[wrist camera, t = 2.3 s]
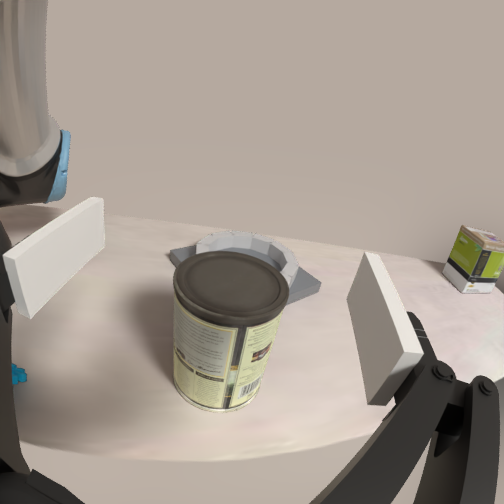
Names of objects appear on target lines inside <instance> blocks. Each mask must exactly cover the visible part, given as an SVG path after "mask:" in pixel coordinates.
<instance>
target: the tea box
mask: <svg viewBox="0 0 504 504" xmlns="http://www.w3.org/2000/svg"><path fill="white" fill-rule="evenodd" d="M503 266H504V242H503V241H502V240H501V239H499V238H498V237H496V236H495V235H494V234H492V233H491V232H489V231H485V230H481V229H477V228H473V227H468V226H464V225H462V226H461V228H460V231H459V233H458V236H457V239H456V241H455V243H454V246H453V249H452V251H451V253H450V256H449V258H448V260H447V263H446V265H445V267H444V269H443V272H442V274H443V275H444V276H445V277H446V278H447V279H448V280H449V281H450V282H451V283H452V284H453V285H454V286H455V287H456V288H457V289H458V290H459V291H460V292H461V293H491V291H492V289H493V287H494V285H495V283H496V281H497V279H498V277H499V275H500V273H501V271H502V268H503Z"/></svg>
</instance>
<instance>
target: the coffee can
mask: <svg viewBox="0 0 504 504" xmlns="http://www.w3.org/2000/svg"><path fill="white" fill-rule="evenodd" d="M173 285H174V338H173V339H174V372H173V378H174V383H175V387H176V389H177V390H178V392H179V393H180V394H181V396H182V397H183V398H184V399H185V400H186V401H188V402H189V403H190V404H192V405H194V406H196V407H198V408H200V409H202V410H207V411H211V412H231V411H235V410H238V409H240V408H242V407H244V406H246V405H247V404H249V403H250V402H251V401H252V400H253V399H254V397H255V396H256V394H257V393H258V391H259V387H260V382H261V379H262V376H263V373H264V370H265V367H266V364H267V361H268V357H269V354H270V351H271V348H272V345H273V342H274V338H275V335H276V332H277V329H278V325H279V322H280V318H281V315H282V312H283V309H284V307H285V305H286V303H287V301H288V298H289V285H288V282H287V280H286V279H285V277H284V276H283V275H282V274H281V273H280V272H279V271H278V270H277V269H276V268H275V267H273V266H272V265H270V264H269V263H267V262H265V261H263V260H261V259H259V258H256V257H253V256H250V255H247V254H243V253H238V252H231V251H209V252H203V253H199V254H195V255H193V256H190V257H188V258H187V259H185V260H184V261H182V262H181V263H180V264H179V265H178V266H177V268H176V270H175V272H174V276H173Z"/></svg>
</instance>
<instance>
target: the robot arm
mask: <svg viewBox="0 0 504 504" xmlns="http://www.w3.org/2000/svg"><path fill="white" fill-rule="evenodd" d="M47 5H48V0H0V207H6V206H15V205H24V204H33V203H45V204H46V203H48V202H52V201H58V200H60V199H62V198H63V197H64V195H65V193H66V184H67V170H68V160H69V149H70V138H71V135H70V132H69V131H64V130H60V129H59V125H58V123H57V122H56V120H55V119H54V118H53V117H51V116H50V115H48V104H47V90H46V64H45V43H46V42H45V41H46V17H47ZM104 247H105V234H104V200H103V198H97V197H91V198H89V199H87V200H85V201H84V202H82V203H80V204H78V205H77V206H75V207H74V208H72V209H70V210H69V211H67V212H65V213H64V214H62V215H60V216H59V217H57V218H56V219H54V220H53V221H51V222H49V223H48V224H46V225H45V226H43V227H42V228H40V229H39V230H37V231H36V232H34V233H33V234H31V235H29V236H27V237H26V238H24V239H23V240H22V241H21V242H19V243H17V244H16V245H15V246H13V247H12V244H11V241H10V238H9V237H8V235H7V233H6V231H5V229H4V227H3V225H2V223H1V221H0V504H85V503H83V502H82V501H80V499H78V498H77V497H76V496H75V495H73V494H72V493H71V492H70V491H68V490H67V489H66V488H65V487H63V486H61V485H60V484H58V483H56V482H54V481H52V480H51V479H49V478H47V477H45V476H44V475H42V474H41V473H39V472H37V471H36V470H34V469H32V471H31V472H30V469H29V467H28V465H27V463H26V462H25V460H24V458H23V455H22V453H21V448H20V444H19V437H18V431H17V424H16V416H15V408H14V397H13V384H12V361H11V335H12V310H11V307H10V306H11V305H12V304H13V303H14V302H15V303H16V306H17V310H18V313H19V314H21V315H23V316H25V317H27V318H29V319H31V318H32V317H33V316H34V315H35V314H36V313H37V312H38V311H39V310H40V309H41V308H42V307H43V306H44V305H45V304H46V303H47V302H48V300H49V299H50V298H51V297H52V296H53V295H54V294H55V293H56V292H57V291H58V290H59V289H60V288H61V287H62V286H63V285H64V284H65V283H66V282H67V281H68V280H70V279H71V278H72V277H73V276H74V275H75V274H76V273H77V272H78V271H79V270H80V269H81V268H82V267H83V266H84V265H85V264H86V263H87V262H88V261H90V260H91V259H92V258H93V257H94V256H95V255H96V254H97V253H98V252H99V251H100V250H102V249H103V248H104ZM347 303H348V307H349V311H350V316H351V320H352V325H353V329H354V334H355V339H356V344H357V349H358V354H359V359H360V364H361V370H362V375H363V381H364V386H365V392H366V398H367V405H381V406H386V405H387V404H388V402H389V401H390V400H391V399H392V397H393V396H394V399H395V403H396V405H395V406H394V407H393V408H392V410H391V411H390V412H389V413H388V414H387V415H386V417H385V418H384V419H383V420H382V421H383V422H382V423H381V424H380V426H379V427H378V428H377V430H376V431H375V432H374V433H373V435H372V436H371V437H370V439H369V440H368V441H367V442H366V443H365V445H364V446H363V447H362V448H361V449H360V451H359V452H358V453H357V454H356V455H355V457H354V458H353V459H352V460H351V461H350V462H349V463H348V464H347V466H346V467H345V468H344V469H343V470H342V471H341V472H340V473H339V474H338V475H337V476H336V477H335V478H334V480H333V481H332V482H331V483H330V484H329V485H328V486H327V487H326V488H325V489H324V490H323V491H322V492H321V493H320V494H319V495H318V496H317V497H316V498H315V499H314V500H312V501H311V503H310V504H391V502H392V501H393V500H394V498H395V497H396V495H397V494H398V492H399V491H400V489H401V488H402V486H403V485H404V483H405V482H406V480H407V479H408V477H409V475H410V474H411V472H412V470H413V469H414V467H415V465H416V464H417V462H418V460H419V459H420V457H421V455H422V453H423V451H424V450H425V448H426V446H427V444H428V442H429V440H430V438H431V442H430V446H429V451H428V455H427V459H426V463H425V467H424V470H423V474H422V477H421V481H420V484H419V487H418V491H417V494H416V497H415V500H414V503H413V504H494V501H495V493H496V485H497V477H498V464H499V445H500V414H499V393H498V390H497V387H496V386H495V384H494V382H492V380H490V379H489V378H487V377H485V376H481V375H480V376H476V377H475V378H474V379H473V380H472V382H471V383H470V384H468V383H465V382H462V381H459V380H457V379H456V376H455V373H454V371H453V370H452V368H451V367H449V366H448V365H447V364H446V363H444V362H442V361H439V360H437V358H436V355H435V353H434V351H433V348H432V346H431V344H430V342H429V339H428V338H427V335H426V333H425V331H424V328H423V326H422V324H421V322H420V320H419V319H418V318H417V317H416V316H415V315H414V314H413V313H412V312H407V311H406V310H405V308H404V306H403V304H402V301H401V299H400V297H399V295H398V293H397V291H396V288H395V286H394V284H393V282H392V280H391V278H390V276H389V274H388V272H387V270H386V268H385V266H384V264H383V262H382V260H381V258H380V256H379V255H377V254H373V253H369V252H364V255H363V257H362V260H361V263H360V265H359V268H358V271H357V273H356V276H355V279H354V281H353V284H352V286H351V289H350V291H349V294H348V296H347Z"/></svg>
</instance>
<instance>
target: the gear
mask: <svg viewBox="0 0 504 504" xmlns="http://www.w3.org/2000/svg"><path fill="white" fill-rule="evenodd" d="M18 381H20V382H25V381H27V374H26V373H25V370H24V369H22V368H17V366H16V365H15V364H12V384H18Z"/></svg>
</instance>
